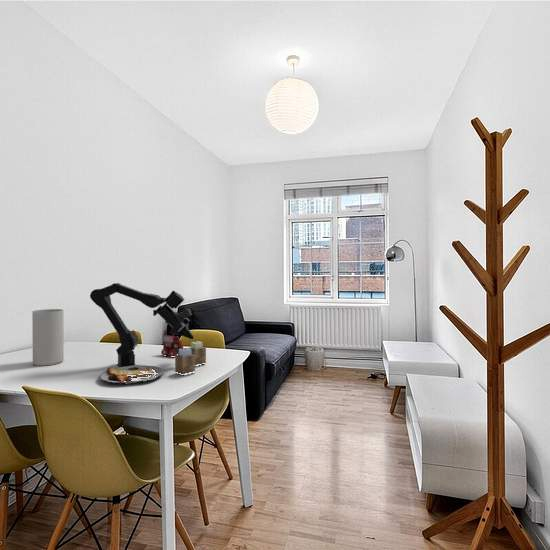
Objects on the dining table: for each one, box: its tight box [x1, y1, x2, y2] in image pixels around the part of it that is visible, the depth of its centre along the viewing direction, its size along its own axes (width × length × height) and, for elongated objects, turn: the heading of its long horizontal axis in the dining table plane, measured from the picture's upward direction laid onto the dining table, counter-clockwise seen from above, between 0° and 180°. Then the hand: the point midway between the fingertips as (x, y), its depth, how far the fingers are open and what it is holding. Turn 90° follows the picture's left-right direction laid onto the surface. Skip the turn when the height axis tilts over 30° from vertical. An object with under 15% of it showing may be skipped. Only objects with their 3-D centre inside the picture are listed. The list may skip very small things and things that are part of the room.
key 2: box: [179, 347, 191, 357], centre depth 155 cm, size 4×4×8 cm
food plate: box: [98, 364, 165, 384], centre depth 149 cm, size 25×23×4 cm
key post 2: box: [174, 354, 196, 374], centre depth 155 cm, size 6×6×8 cm
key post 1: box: [188, 346, 207, 365], centre depth 170 cm, size 6×6×8 cm
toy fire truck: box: [160, 335, 184, 357], centre depth 187 cm, size 7×12×10 cm, turn 65°
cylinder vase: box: [31, 308, 65, 367], centre depth 171 cm, size 12×12×25 cm
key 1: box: [190, 340, 204, 349], centre depth 169 cm, size 4×4×8 cm
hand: (193, 338), depth 169 cm, fingers closed
